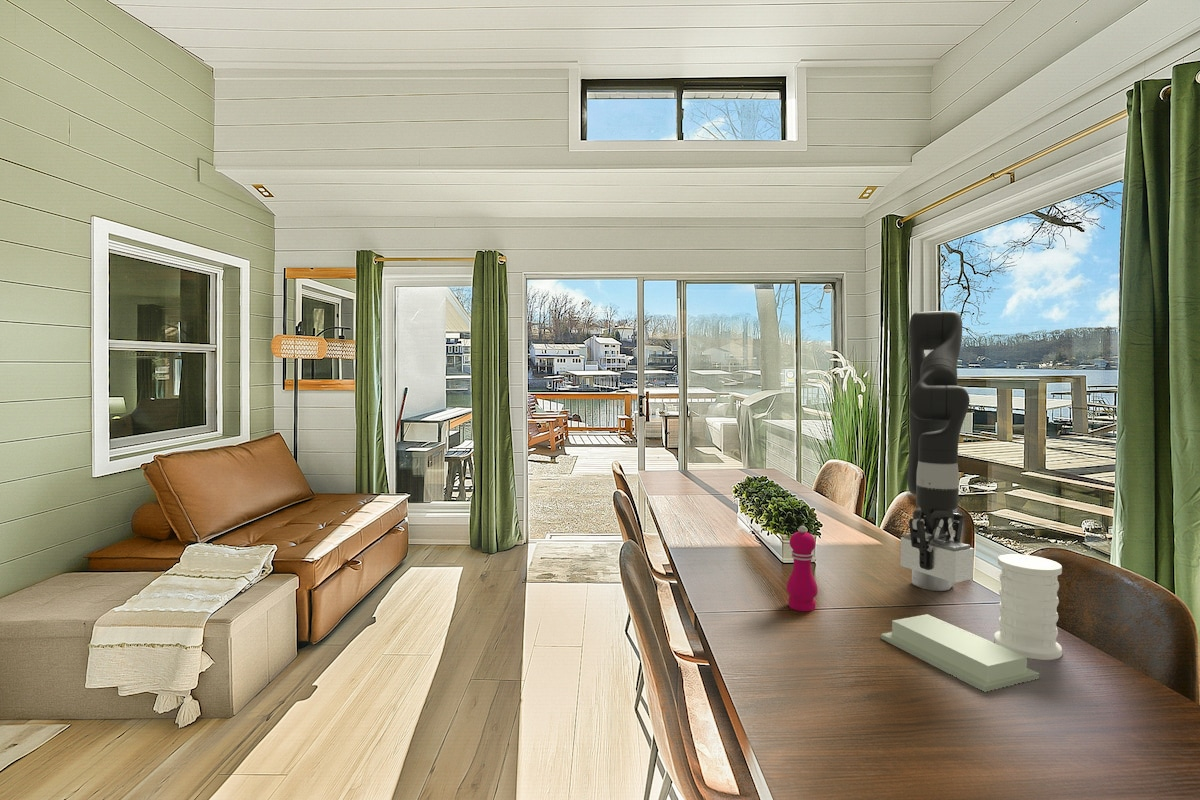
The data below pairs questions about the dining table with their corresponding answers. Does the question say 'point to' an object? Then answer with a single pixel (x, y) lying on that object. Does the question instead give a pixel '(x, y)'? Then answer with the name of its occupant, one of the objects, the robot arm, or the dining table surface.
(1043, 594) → the decorative container
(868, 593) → the dining table surface
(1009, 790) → the dining table surface
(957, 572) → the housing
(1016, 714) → the dining table surface
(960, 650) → the stand
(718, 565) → the dining table surface
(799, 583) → the pepper mill
